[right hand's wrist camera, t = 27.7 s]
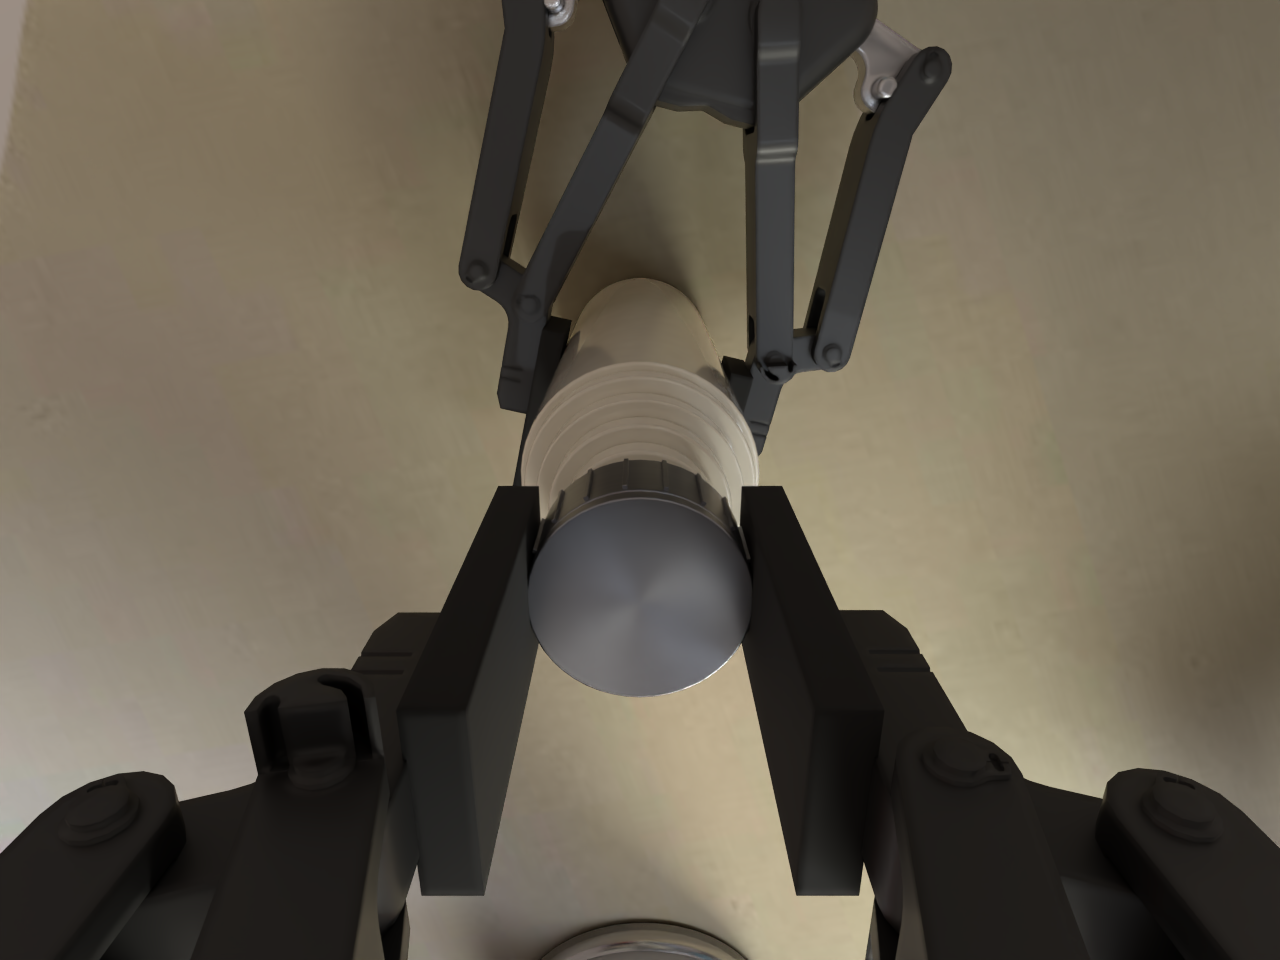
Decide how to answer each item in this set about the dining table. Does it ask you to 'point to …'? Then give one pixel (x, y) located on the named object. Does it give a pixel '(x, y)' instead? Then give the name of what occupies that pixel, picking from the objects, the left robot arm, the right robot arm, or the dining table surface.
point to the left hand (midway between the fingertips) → (609, 513)
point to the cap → (640, 579)
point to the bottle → (640, 397)
